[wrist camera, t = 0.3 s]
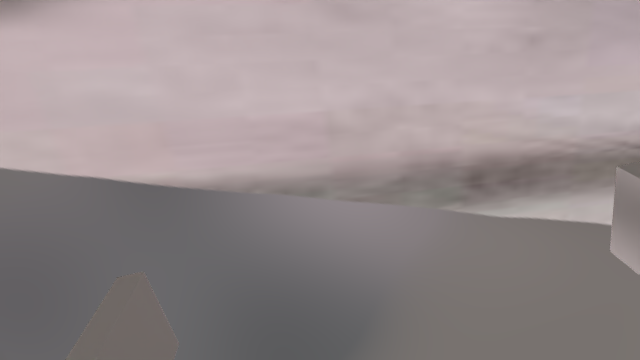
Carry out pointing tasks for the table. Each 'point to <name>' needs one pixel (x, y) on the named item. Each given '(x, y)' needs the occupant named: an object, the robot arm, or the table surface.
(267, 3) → the table surface
